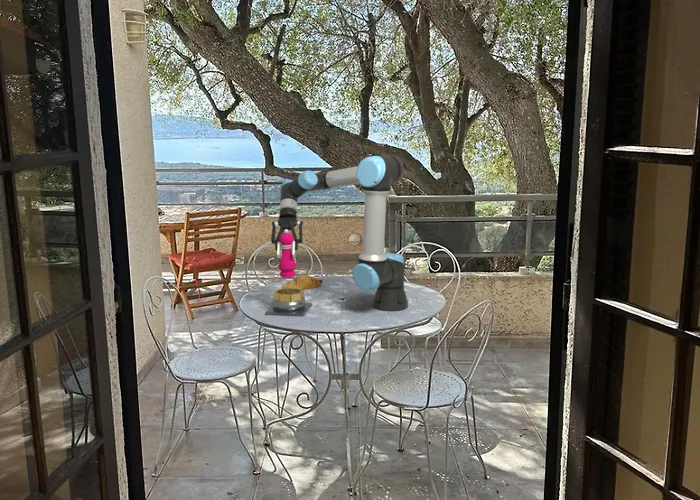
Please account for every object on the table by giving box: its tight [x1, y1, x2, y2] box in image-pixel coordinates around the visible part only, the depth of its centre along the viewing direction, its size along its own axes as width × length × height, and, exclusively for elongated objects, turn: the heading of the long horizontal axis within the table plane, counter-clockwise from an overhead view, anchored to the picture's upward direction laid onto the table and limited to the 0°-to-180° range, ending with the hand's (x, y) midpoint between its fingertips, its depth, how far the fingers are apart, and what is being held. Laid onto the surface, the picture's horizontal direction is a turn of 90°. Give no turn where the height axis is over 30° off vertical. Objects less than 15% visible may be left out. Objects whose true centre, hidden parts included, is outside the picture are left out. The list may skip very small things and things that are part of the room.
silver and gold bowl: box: [265, 288, 313, 317], centre depth 262 cm, size 16×16×8 cm
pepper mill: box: [278, 229, 297, 279], centre depth 258 cm, size 7×7×20 cm
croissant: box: [281, 274, 324, 291], centre depth 299 cm, size 21×10×8 cm, turn 117°
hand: (286, 256), depth 254 cm, fingers closed on pepper mill, 6 cm apart
